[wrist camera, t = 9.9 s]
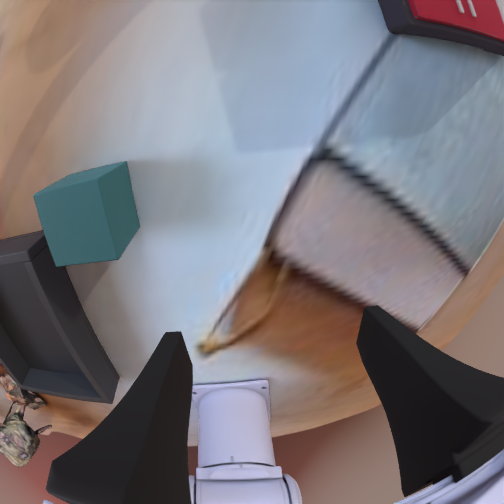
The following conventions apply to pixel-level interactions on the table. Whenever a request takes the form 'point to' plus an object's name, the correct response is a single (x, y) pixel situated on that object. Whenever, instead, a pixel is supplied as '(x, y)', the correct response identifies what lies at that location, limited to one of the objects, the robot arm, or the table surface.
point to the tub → (48, 327)
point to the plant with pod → (19, 425)
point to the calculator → (449, 20)
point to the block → (88, 215)
